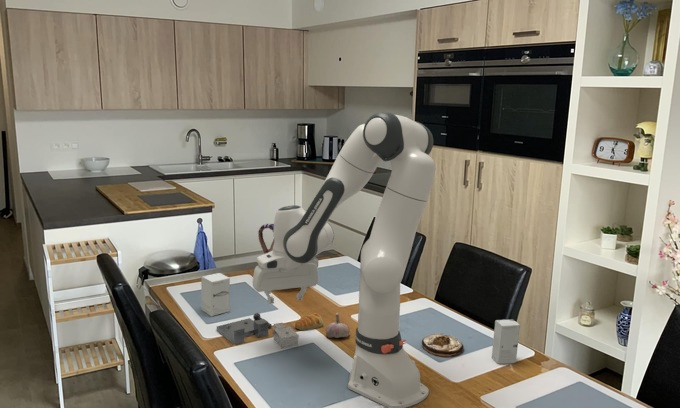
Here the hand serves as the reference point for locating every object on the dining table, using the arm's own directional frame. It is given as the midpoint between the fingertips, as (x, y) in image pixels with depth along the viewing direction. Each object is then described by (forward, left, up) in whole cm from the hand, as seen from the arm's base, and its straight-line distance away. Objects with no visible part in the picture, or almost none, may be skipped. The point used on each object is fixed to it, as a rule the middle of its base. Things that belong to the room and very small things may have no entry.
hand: (285, 301), depth 167 cm
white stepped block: (+1, -1, -13) cm, 13 cm away
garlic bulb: (-6, -16, -14) cm, 22 cm away
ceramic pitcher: (+43, -27, -14) cm, 53 cm away
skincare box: (-47, -47, -14) cm, 68 cm away
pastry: (+5, -13, -14) cm, 20 cm away
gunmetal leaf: (+14, +8, -13) cm, 21 cm away
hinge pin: (+15, -1, -13) cm, 20 cm away
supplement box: (+34, +7, -14) cm, 37 cm away
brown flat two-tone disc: (-31, -38, -14) cm, 51 cm away
